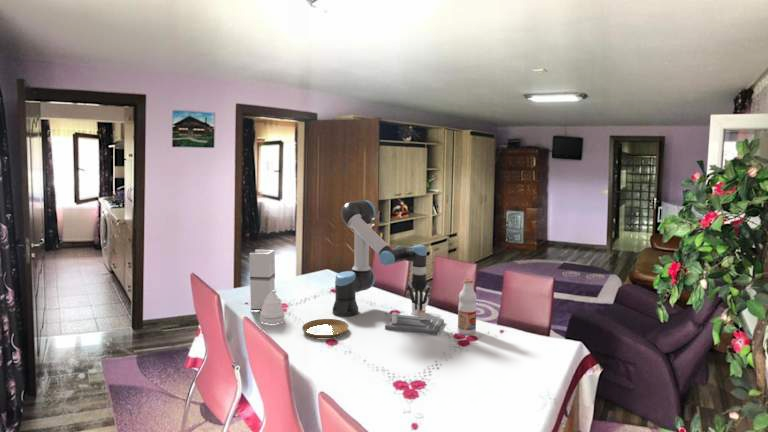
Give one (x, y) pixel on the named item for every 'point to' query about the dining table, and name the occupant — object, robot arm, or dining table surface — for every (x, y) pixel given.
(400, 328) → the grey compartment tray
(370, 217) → the robot arm
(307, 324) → the plant saucer
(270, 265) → the tall grey box
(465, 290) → the fruit juice
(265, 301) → the honey pot
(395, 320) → the fader
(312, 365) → the dining table surface
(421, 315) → the fader
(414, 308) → the mug
